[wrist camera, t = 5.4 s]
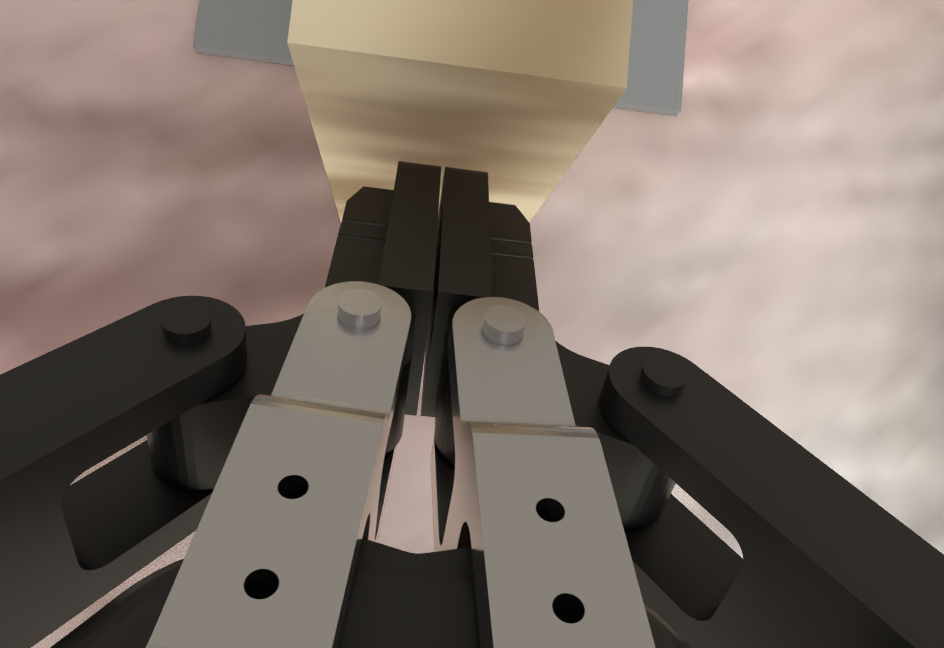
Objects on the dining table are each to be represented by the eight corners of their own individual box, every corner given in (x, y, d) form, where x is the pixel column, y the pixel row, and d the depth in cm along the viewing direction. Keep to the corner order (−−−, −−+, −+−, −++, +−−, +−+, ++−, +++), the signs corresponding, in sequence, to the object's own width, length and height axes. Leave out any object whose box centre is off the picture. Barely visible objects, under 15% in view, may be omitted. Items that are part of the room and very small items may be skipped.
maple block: (346, 239, 22) (286, 43, 10) (364, 86, 22) (327, -272, 11) (503, 257, 22) (626, 88, 10) (517, 106, 23) (649, -218, 11)
